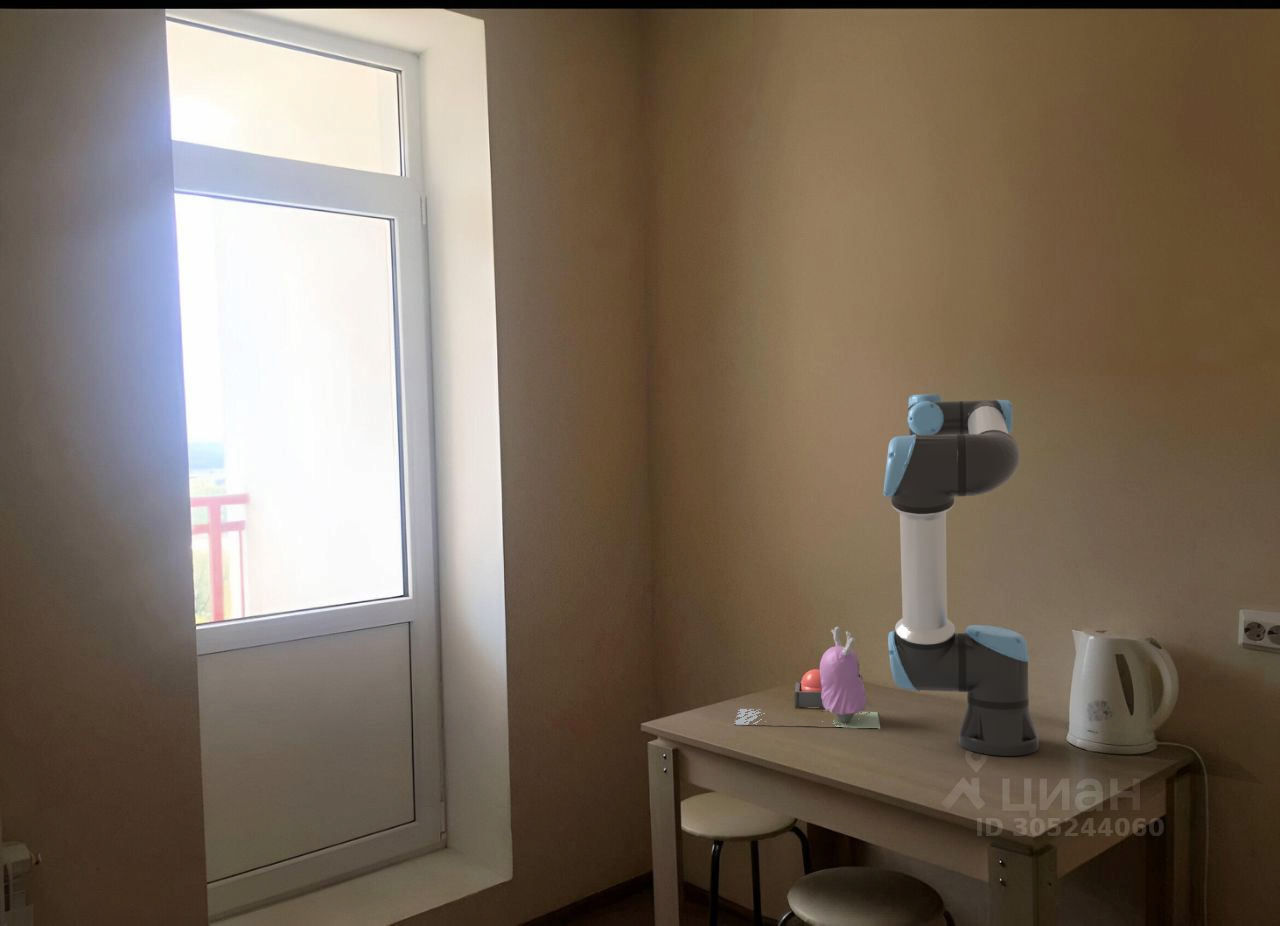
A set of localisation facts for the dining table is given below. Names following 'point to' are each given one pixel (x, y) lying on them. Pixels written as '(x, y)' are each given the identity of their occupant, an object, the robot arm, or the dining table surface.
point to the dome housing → (807, 697)
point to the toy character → (842, 680)
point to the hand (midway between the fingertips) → (927, 552)
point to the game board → (864, 722)
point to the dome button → (811, 681)
